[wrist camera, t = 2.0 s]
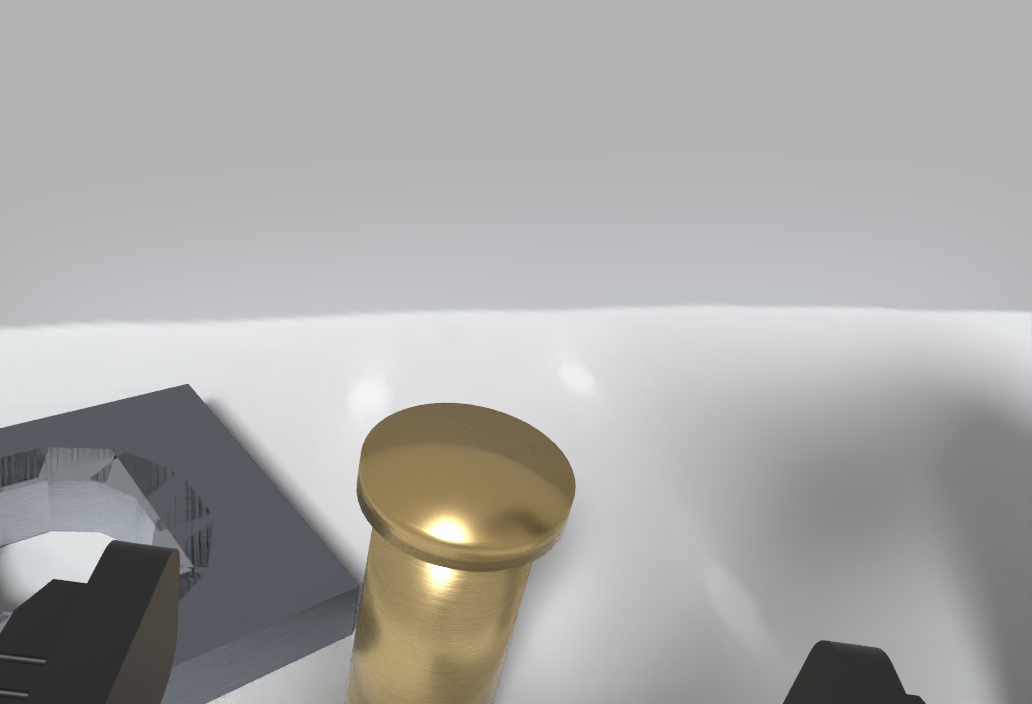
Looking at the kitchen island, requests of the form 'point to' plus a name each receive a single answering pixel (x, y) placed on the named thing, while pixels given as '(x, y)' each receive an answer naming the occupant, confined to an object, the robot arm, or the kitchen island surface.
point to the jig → (184, 530)
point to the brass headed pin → (450, 549)
